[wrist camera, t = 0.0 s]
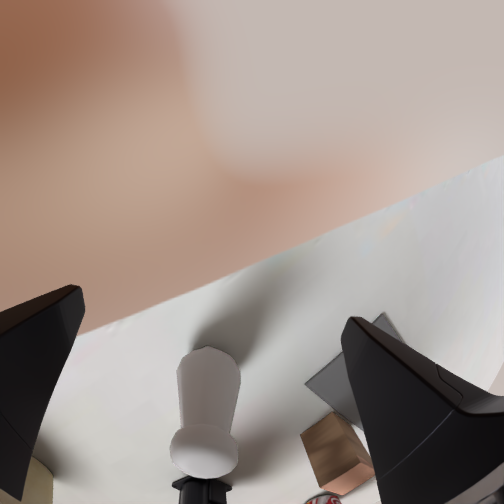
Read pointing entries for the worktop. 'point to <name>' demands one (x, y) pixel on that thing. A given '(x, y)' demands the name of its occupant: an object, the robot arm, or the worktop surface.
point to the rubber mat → (342, 382)
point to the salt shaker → (206, 414)
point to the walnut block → (337, 455)
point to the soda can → (325, 500)
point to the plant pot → (33, 486)
